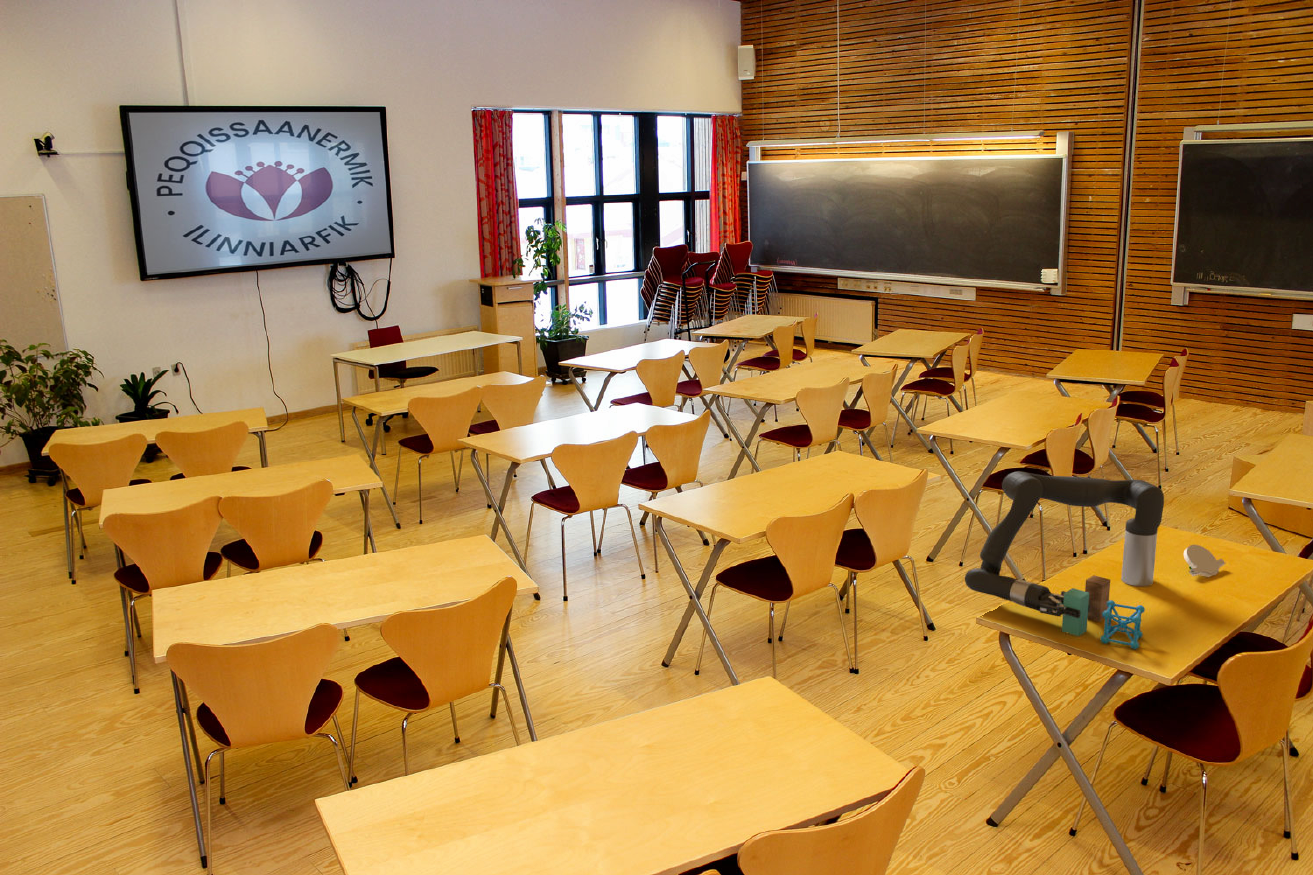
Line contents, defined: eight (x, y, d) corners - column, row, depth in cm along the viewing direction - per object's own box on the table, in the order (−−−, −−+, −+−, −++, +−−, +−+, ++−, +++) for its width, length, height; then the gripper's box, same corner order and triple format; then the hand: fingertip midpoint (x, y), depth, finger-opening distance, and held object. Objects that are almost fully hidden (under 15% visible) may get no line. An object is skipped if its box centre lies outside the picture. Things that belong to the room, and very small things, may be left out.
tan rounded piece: (1201, 580, 320) (1187, 546, 323) (1180, 585, 327) (1166, 552, 330) (1230, 570, 327) (1216, 537, 329) (1209, 575, 334) (1196, 543, 336)
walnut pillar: (1083, 617, 301) (1085, 580, 298) (1091, 611, 304) (1093, 575, 301) (1099, 622, 297) (1102, 584, 294) (1107, 616, 300) (1110, 579, 297)
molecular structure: (1138, 651, 279) (1141, 618, 276) (1099, 643, 284) (1101, 611, 282) (1142, 636, 287) (1145, 604, 285) (1105, 629, 292) (1107, 598, 290)
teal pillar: (1061, 631, 293) (1064, 593, 290) (1070, 625, 296) (1072, 588, 293) (1078, 636, 289) (1080, 598, 286) (1086, 630, 292) (1089, 592, 289)
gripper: (1017, 590, 296) (1073, 607, 283) (1042, 576, 305) (1097, 591, 292) (1016, 613, 298) (1071, 631, 285) (1041, 599, 307) (1095, 615, 294)
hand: (1084, 611), depth 289 cm, fingers closed on teal pillar, 5 cm apart
